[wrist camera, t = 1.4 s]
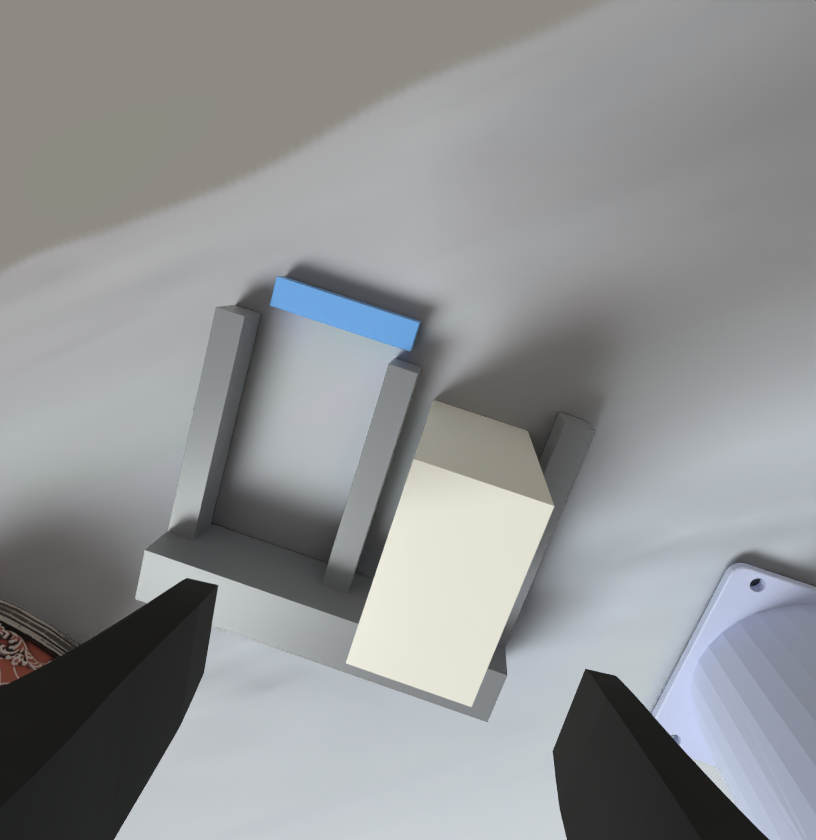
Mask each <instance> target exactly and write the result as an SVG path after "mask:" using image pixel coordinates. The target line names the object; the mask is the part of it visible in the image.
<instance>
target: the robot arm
mask: <svg viewBox="0 0 816 840" xmlns="http://www.w3.org/2000/svg"><path fill="white" fill-rule="evenodd" d="M756 578H760V582H759V583H758V584H757V585H755V586H750V582H751V581H752V580H754V579H756ZM217 591H218V585H216V584H211V583H207V582H203V581H198V580H194V579H189V578H186V579H184V580H182V581H180V582H179V583H177V584H176V585H174V586H173V587H171V588H170V589H168V590H167V591H165V592H164V593H162V594H161V595H159V596H158V597H156V598H155V599H153V600H151V601H150V602H148V603H147V604H145V605H144V606H142V607H141V608H139V609H138V610H136V611H135V612H133V613H132V614H130V615H128V616H127V617H125V618H124V619H122V620H120V621H119V622H117V623H116V624H114V625H112V626H111V627H109V628H108V629H106V630H104V631H103V632H101V633H99V634H98V635H96V636H95V637H93V638H91V639H90V640H88V641H86V642H85V643H83V644H81V645H79V646H77V647H76V648H74V649H72V650H70V651H69V652H67V653H65V654H63V655H61V656H60V657H58V658H56V659H54V660H52V661H51V662H49V663H47V664H45V665H44V666H42V667H40V668H38V669H36V670H34V671H32V672H30V673H28V674H26V675H24V676H22V677H21V678H19V679H17V680H14V681H12V682H10V683H8V684H6V685H4V686H2V687H0V840H114V838H115V837H116V835H117V833H118V832H119V830H120V828H121V826H122V825H123V823H124V821H125V820H126V818H127V816H128V814H129V813H130V811H131V809H132V808H133V806H134V804H135V803H136V801H137V799H138V797H139V796H140V794H141V792H142V791H143V789H144V787H145V786H146V784H147V782H148V780H149V779H150V777H151V775H152V774H153V772H154V770H155V768H156V767H157V765H158V763H159V762H160V760H161V758H162V756H163V755H164V753H165V751H166V750H167V748H168V746H169V744H170V743H171V741H172V739H173V737H174V736H175V734H176V732H177V730H178V729H179V727H180V725H181V723H182V721H183V719H184V716H185V714H186V712H187V710H188V708H189V705H190V703H191V701H192V699H193V696H194V694H195V692H196V690H197V687H198V685H199V683H200V680H201V678H202V676H203V674H204V668H205V662H206V656H207V650H208V644H209V638H210V632H211V626H212V621H213V615H214V609H215V603H216V597H217ZM670 735H676V736H675V737H674V738H672V737H671V736H670ZM553 757H554V766H555V776H556V784H557V791H558V799H559V806H560V811H561V816H562V820H563V824H564V829H565V833H566V837H567V840H816V587H815V586H812V585H809V584H806V583H803V582H800V581H797V580H794V579H791V578H788V577H785V576H782V575H779V574H776V573H773V572H770V571H767V570H764V569H761V568H758V567H755V566H752V565H749V564H746V563H736V564H733V565H731V566H730V567H729V568H728V569H727V570H726V572H725V573H724V575H723V577H722V579H721V581H720V583H719V585H718V587H717V589H716V591H715V593H714V595H713V597H712V599H711V600H710V602H709V604H708V606H707V608H706V610H705V612H704V614H703V616H702V618H701V620H700V622H699V624H698V625H697V627H696V629H695V631H694V633H693V635H692V637H691V639H690V641H689V643H688V645H687V647H686V649H685V651H684V652H683V654H682V656H681V658H680V660H679V662H678V664H677V666H676V668H675V670H674V672H673V674H672V676H671V678H670V679H669V681H668V683H667V685H666V687H665V689H664V691H663V693H662V695H661V697H660V699H659V701H658V703H657V705H656V706H655V708H654V710H653V712H652V714H651V713H650V712H649V711H648V710H647V709H646V707H645V706H644V705H643V704H642V703H641V702H640V701H639V700H638V698H637V697H636V696H635V695H634V694H633V693H632V692H631V691H630V690H629V689H628V688H627V687H626V686H625V685H624V683H623V682H622V681H621V680H620V679H619V678H618V677H616V676H614V675H610V674H605V673H601V672H596V671H592V670H588V669H585V672H584V674H583V677H582V679H581V682H580V684H579V687H578V689H577V692H576V694H575V697H574V699H573V702H572V704H571V707H570V709H569V712H568V714H567V717H566V719H565V722H564V724H563V727H562V729H561V732H560V734H559V737H558V739H557V742H556V744H555V747H554V749H553ZM690 757H691V758H694V759H697V760H699V761H702V762H705V763H708V764H711V765H714V766H717V768H718V770H719V772H720V774H721V776H722V778H723V780H724V782H725V784H726V786H727V788H728V790H729V792H730V794H731V796H732V798H733V800H734V802H735V804H736V806H737V807H736V806H735V805H734V804H733V803H732V802H731V801H730V800H729V799H728V797H727V796H726V795H725V794H724V793H723V792H722V791H721V790H720V789H719V788H718V787H717V786H716V785H715V784H714V783H713V782H712V781H711V780H710V778H709V777H708V776H707V775H706V774H705V773H704V772H703V771H702V770H701V769H700V768H699V767H698V765H697V764H696V763H695V762H694V761H693V760H692V759H691V758H690Z"/></svg>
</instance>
